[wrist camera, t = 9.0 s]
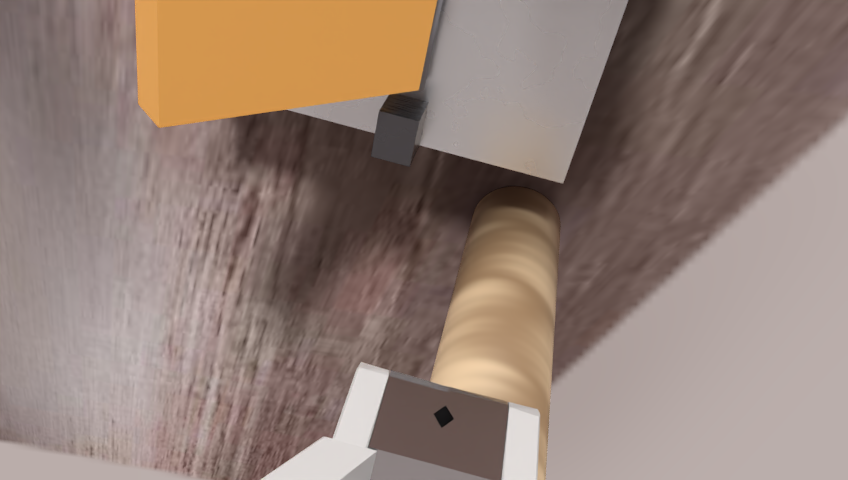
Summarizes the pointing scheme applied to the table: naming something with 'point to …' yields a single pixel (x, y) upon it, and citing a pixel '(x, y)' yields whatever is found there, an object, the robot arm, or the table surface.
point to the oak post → (505, 305)
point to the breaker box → (496, 86)
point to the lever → (276, 54)
